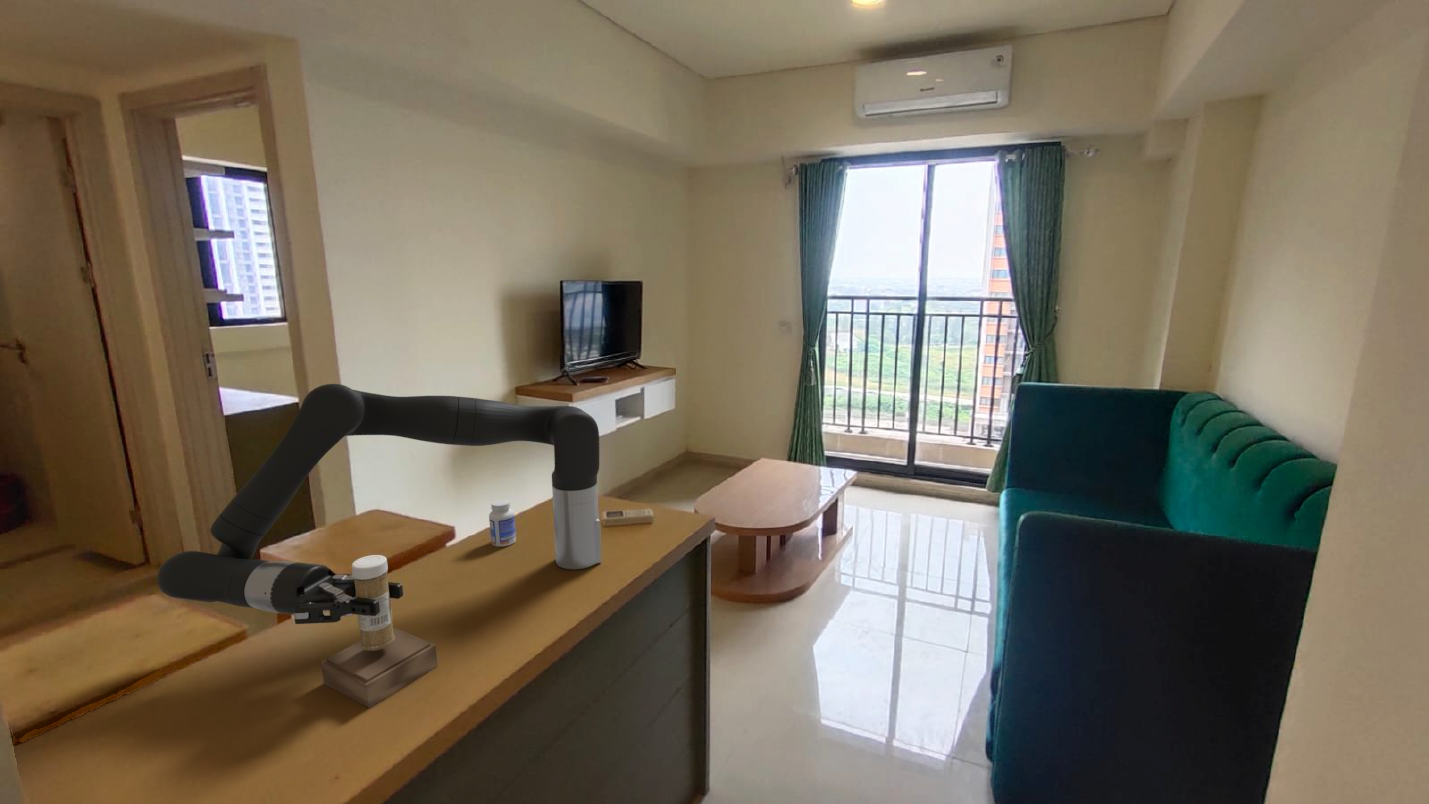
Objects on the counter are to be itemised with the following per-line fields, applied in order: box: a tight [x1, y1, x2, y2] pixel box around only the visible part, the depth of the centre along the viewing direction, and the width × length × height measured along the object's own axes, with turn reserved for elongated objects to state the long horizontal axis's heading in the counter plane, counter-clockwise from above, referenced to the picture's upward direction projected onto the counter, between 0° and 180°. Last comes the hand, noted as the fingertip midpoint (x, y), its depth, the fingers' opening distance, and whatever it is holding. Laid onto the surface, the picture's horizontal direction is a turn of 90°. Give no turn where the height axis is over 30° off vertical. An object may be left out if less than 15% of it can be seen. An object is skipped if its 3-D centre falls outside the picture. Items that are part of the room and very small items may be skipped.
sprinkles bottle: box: [351, 554, 395, 651], centre depth 91 cm, size 5×5×13 cm
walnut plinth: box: [320, 626, 438, 709], centre depth 93 cm, size 11×11×4 cm
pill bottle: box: [488, 499, 517, 548], centre depth 140 cm, size 5×5×10 cm
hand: (389, 599), depth 90 cm, fingers closed on sprinkles bottle, 4 cm apart
